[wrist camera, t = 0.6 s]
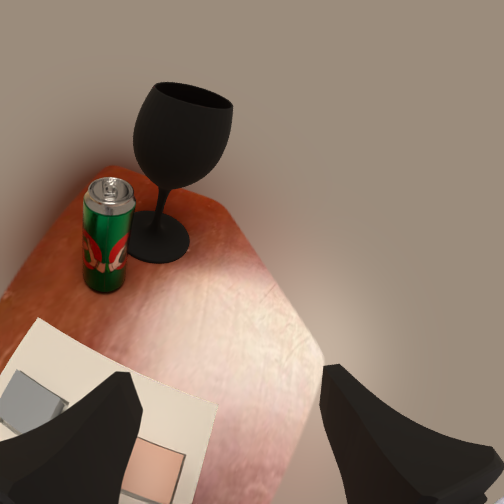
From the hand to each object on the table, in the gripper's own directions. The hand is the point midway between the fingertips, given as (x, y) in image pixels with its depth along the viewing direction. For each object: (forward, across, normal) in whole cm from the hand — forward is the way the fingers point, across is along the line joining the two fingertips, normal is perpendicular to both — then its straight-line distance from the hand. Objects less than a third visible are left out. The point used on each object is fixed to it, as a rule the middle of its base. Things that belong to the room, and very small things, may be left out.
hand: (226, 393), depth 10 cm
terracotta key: (+3, +8, +12) cm, 14 cm away
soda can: (+22, +16, +3) cm, 27 cm away
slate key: (+4, +16, +7) cm, 18 cm away
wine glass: (+31, +12, 0) cm, 33 cm away
